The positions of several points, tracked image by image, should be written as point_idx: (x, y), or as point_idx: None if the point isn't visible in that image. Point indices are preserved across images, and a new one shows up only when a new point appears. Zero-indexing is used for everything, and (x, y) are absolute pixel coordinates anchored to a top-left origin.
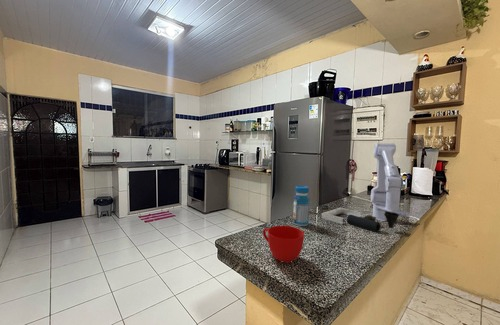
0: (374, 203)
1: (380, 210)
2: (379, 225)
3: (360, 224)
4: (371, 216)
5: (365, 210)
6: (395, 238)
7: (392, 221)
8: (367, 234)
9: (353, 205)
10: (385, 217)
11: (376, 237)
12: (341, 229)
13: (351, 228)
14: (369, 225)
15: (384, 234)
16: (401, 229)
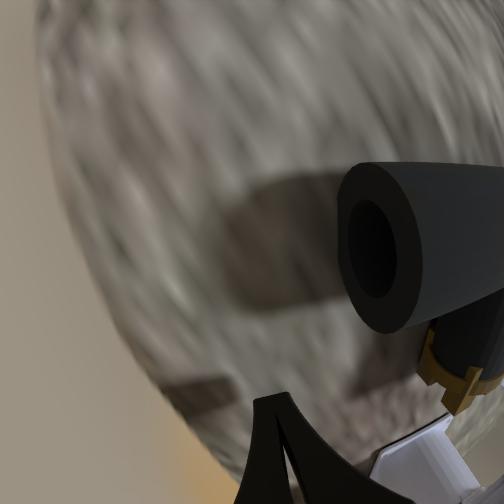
0: (481, 490)
1: (480, 498)
2: (376, 304)
3: (499, 167)
4: (488, 381)
5: (463, 439)
6: (89, 223)
7: (254, 476)
8: (340, 20)
9: (494, 423)
10: (386, 473)
11: (224, 16)
12: (478, 3)
13: (484, 79)
14: (452, 165)
15: (237, 219)
16: (243, 457)
